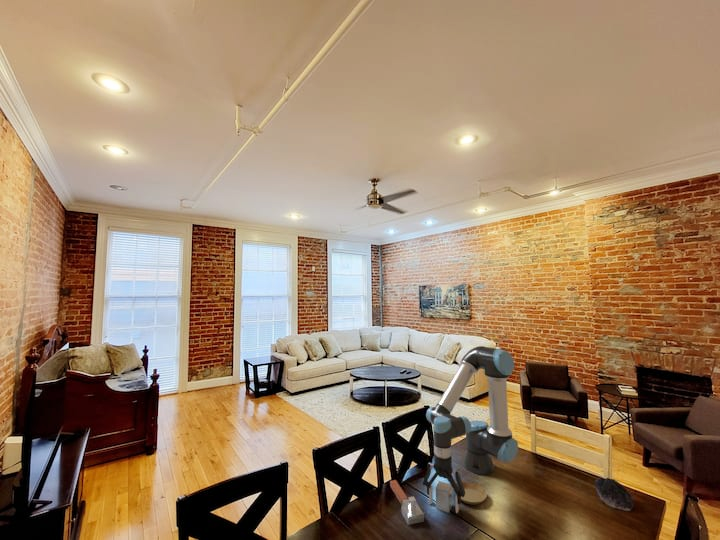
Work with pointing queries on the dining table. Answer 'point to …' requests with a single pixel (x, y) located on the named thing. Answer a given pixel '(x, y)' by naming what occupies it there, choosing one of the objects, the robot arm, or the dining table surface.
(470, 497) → the plant saucer
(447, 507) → the white upright block
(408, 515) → the mallet
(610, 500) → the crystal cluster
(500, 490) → the dining table surface
